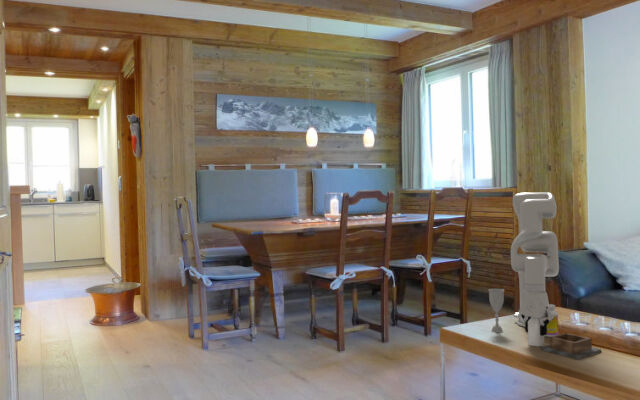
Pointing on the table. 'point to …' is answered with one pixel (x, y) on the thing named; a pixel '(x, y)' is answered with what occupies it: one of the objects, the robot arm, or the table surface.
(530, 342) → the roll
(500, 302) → the chalice
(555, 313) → the supplement bottle
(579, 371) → the table surface
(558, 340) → the brown wooden open box
